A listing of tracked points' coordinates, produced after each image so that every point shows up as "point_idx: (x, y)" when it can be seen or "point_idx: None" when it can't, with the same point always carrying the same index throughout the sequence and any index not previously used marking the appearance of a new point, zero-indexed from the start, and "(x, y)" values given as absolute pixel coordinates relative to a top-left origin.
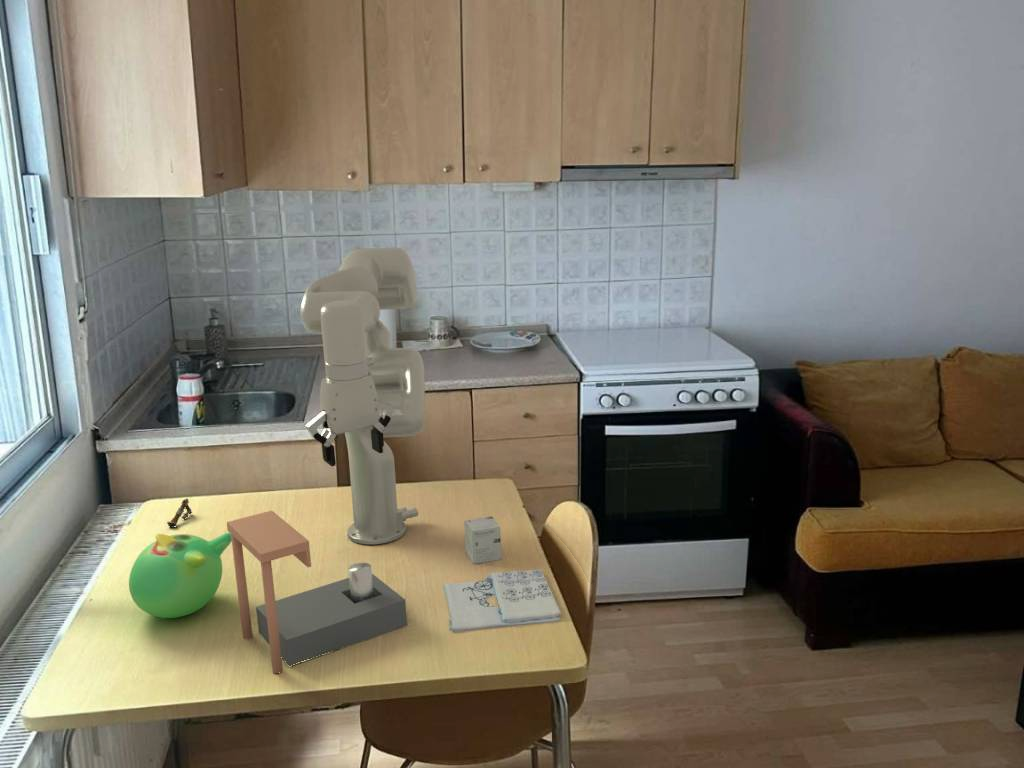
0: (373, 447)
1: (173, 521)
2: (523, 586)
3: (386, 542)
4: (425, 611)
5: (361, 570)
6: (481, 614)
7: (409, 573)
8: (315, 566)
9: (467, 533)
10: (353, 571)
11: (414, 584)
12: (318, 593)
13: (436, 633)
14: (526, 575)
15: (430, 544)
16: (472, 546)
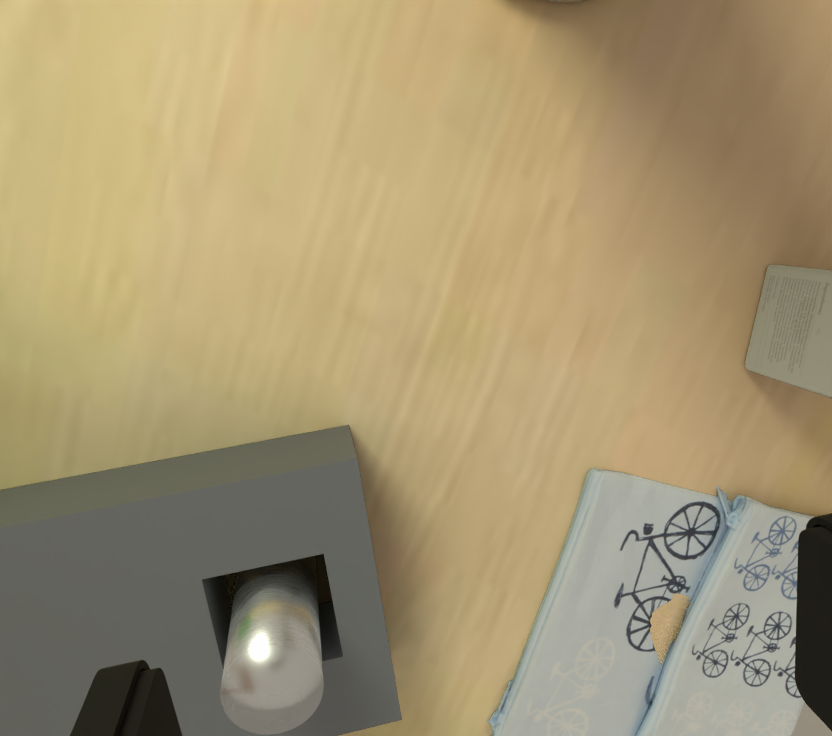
0: (819, 574)
1: None
2: (778, 604)
3: (559, 1)
4: (469, 600)
5: (271, 717)
6: (598, 700)
7: (529, 324)
8: (209, 53)
9: (827, 321)
10: (235, 714)
11: (511, 414)
12: (110, 554)
13: (447, 727)
14: None
15: (699, 118)
16: (790, 380)
